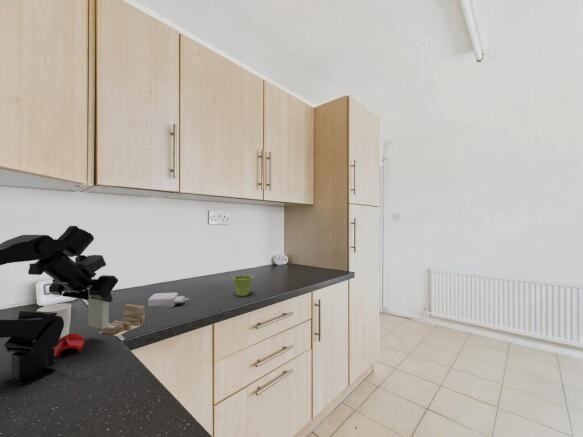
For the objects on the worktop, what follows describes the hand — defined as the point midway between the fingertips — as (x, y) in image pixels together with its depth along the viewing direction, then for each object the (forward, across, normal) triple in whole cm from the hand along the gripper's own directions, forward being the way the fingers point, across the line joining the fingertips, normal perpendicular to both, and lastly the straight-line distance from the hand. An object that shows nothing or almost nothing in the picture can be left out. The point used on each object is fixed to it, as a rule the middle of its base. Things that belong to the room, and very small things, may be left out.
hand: (102, 300), depth 80 cm
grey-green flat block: (+4, 0, +6) cm, 7 cm away
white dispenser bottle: (+34, +3, -16) cm, 37 cm away
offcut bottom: (+11, 0, +5) cm, 12 cm away
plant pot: (+49, -21, -31) cm, 62 cm away
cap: (+3, +1, +15) cm, 16 cm away
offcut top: (+10, 0, +4) cm, 11 cm away
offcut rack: (+14, 0, +4) cm, 14 cm away
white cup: (+7, +16, +11) cm, 20 cm away
